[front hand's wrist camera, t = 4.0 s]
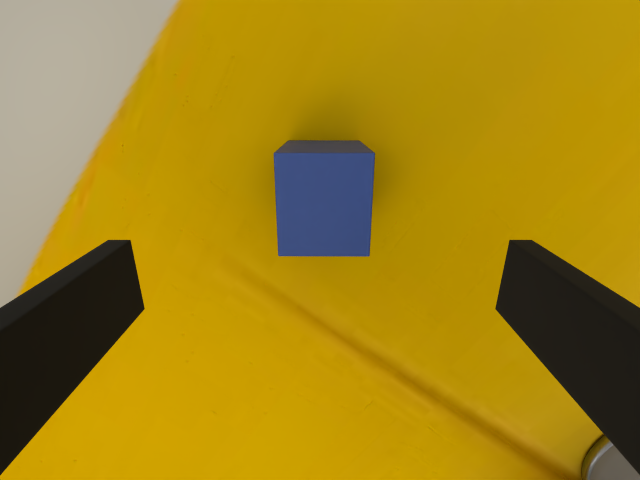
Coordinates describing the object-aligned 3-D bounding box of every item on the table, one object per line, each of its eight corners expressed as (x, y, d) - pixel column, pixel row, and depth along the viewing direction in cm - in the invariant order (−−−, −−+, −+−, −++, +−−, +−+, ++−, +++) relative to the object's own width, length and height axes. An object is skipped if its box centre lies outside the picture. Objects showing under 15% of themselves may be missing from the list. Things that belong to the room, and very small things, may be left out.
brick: (359, 140, 30) (375, 152, 21) (356, 217, 32) (369, 256, 23) (287, 140, 30) (273, 152, 21) (290, 216, 32) (278, 256, 23)
